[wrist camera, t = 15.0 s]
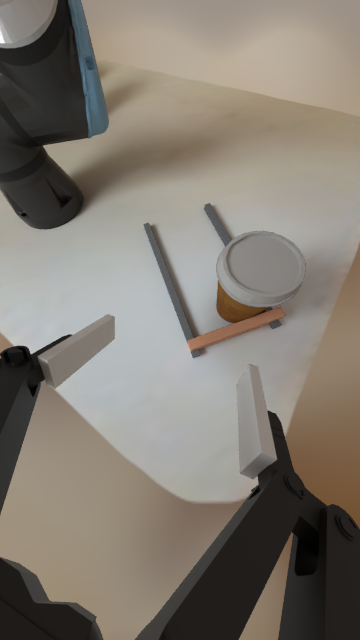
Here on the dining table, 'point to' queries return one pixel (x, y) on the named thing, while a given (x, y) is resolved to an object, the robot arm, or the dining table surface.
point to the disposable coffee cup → (257, 274)
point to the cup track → (226, 332)
